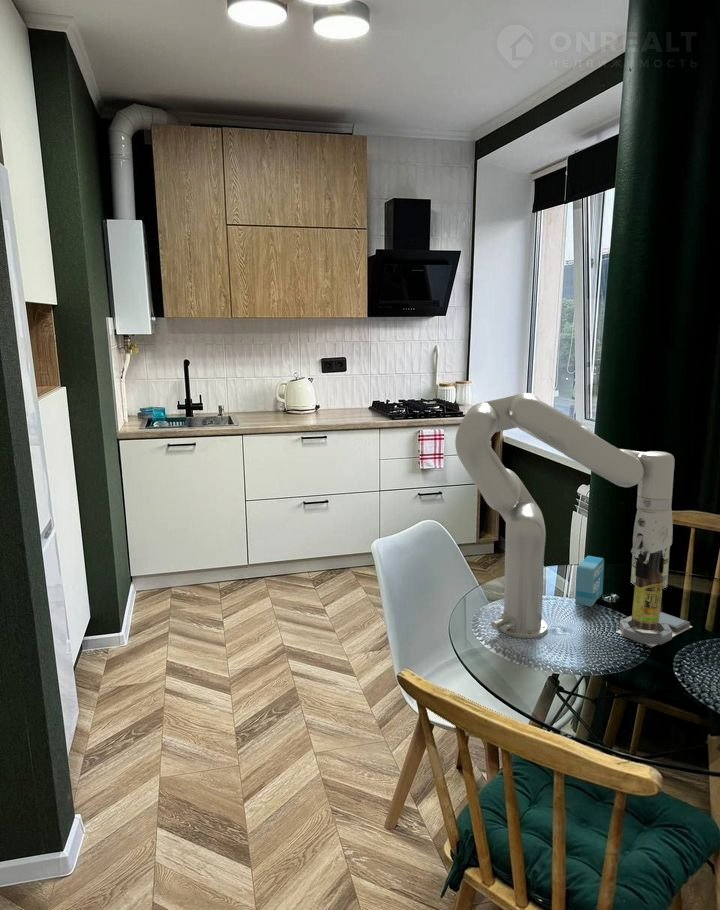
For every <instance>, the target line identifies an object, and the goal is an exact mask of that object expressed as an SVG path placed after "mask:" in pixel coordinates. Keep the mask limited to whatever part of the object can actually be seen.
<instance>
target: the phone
mask: <svg viewBox="0 0 720 910" xmlns="http://www.w3.org/2000/svg"><path fill="white" fill-rule="evenodd" d="M659 620H660V621H662V622H665V623H667V624H668V625H669V627H670V628H671V630H672V631H673V632H676V633H678V632H680V631H682V630H684V629H686V628H688V627H689V626H691V621H688V620H685V619H684V618H683V619H682V618H681V617H677V616H674V615H672V614H668V613H665V612H662V611H660V617H659Z"/></svg>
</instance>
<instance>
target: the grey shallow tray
mask: <svg viewBox="0 0 720 910" xmlns="http://www.w3.org/2000/svg"><path fill="white" fill-rule="evenodd" d="M691 628H693V626H692V625H690V626H689V627H688V628H686V629H684V630H682V631H680V632H678V633H676V632H673V631H672V630H671V628H670V627H669V625H668V624H667V623H665V622H662V621H660V620H659V622H658V628H657V629H655V630H643V629H639V628H637V627H635V626H634V625H633V624H632V615H630V616H629V615H628V616H627V617H625V618H623V619H621V620H619V629H618V630H616V631H615V633H618V634H620V635H622V636H623V637H624V638H628V639H629V640H632V641H635V642H637V643H639V644H645V645H647V646H649V647H652V648H654V647H655V646H658V645H663V644H665V643H668V642H669V641H671V640H672V639H673V638H674V637H675V636H677V635H679V634H682V633H683V632H685V631H687V630H690V629H691Z"/></svg>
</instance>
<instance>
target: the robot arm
mask: <svg viewBox="0 0 720 910" xmlns="http://www.w3.org/2000/svg"><path fill="white" fill-rule="evenodd" d="M516 428H518V430H521V431H523V433H526V434H528V435H530V436H531V437H533V438H535V439H536V440H539V441H540V442H542V443H544V444H546V445H547V446H549V447H551V448H553V449H554V450H556V451H558V452H559V453H561V454H563V455H564V456H566V457H567V458H569V459H571V460H573V461H574V462H576V463H578V464H579V465H582V466H583V467H584V468H586V469H588V470H590V471H592V472H593V473H594V474H595V475H598V476H599V477H601V478H604V479H605V480H607V481H609V482H610V483H611V484H612V483H613V484H614V485H616V486H618V487H623V488H631V487H634V486H636V485H637V495H636V496H637V498H636V509H637V510H636V514H635V520H634V525H633V534H632V548H631V550H630V553H631V554H633V555H634V557H635V561H636V571H635V576H637V577H640V578H643V579H646V580H647V579H649V566H650V564H649V563H648V560H649V556H650V553H655V552H658V551H661V557H660V563H659V571H660V573H661V574H662V573H663V568H664V557H665V556H666V553H665V551H666V549H667V548H668V547H670V548H671V546H672V545H673V531H674V529H673V528H674V526H673V525H674V524H673V520H674V519H673V512H672V503H673V502H672V501H673V488H674V485H673V484H674V475H675V474H674V471H675V457H674V455H673V454H672V453H669V452H667V451H659V450H658V451H657V450H654V451H653V450H650V451H639V450H638V451H637V450H633V449H632V450H631V449H624V448H618V447H616V446H615V445H612V444H611V443H609V442H608V441H606V440H604V439H603V438H601V437H599V436H598V435H597V434H595V433H594V432H593V431H592V430H590V429H589V428H588V427H587V426H586V425H585V424H583V423H582V422H580V421H579V420H577V419H575V418H573V417H571V416H569V415H568V414H566V413H564V412H562V411H561V410H558V409H557V408H555V407H553V406H551V405H549V404H548V403H546V402H545V401H543V400H541V399H540V398H539V397H538V396H537V395H535V394H534V393H529V392H523V393H518V394H513V395H510V396H506V397H501V398H497V399H492V400H488V401H487V400H486V401H483V402H479V403H476V404H474V405H472V406H471V407H470V408H469V409H468V410H467V412H466V413H465V414H464V416H463V419H462V421H461V422H460V424H459V426H458V429H457V431H456V435H455V440H454V441H455V442H454V443H455V451H456V454H457V457H458V459H459V461H460V463H461V464H462V466H463V467H464V469H465V470H466V471H467V474H468V476H469V477H470V479H471V480H472V482H473V483H474V485H475V487H476V488H477V490H478V491H479V492H480V494H481V496H482V498H483V500H484V501H485V502H486V504H487V505H488V506H489V508H491V509H493V510H494V511H496V512H498V513H499V514H500V516H501V517H502V520H504V522H505V544H504V545H505V551H504V590H503V591H504V593H503V598H504V599H503V600H504V601H503V611H502V612H501V617H500V618H498V619H496V620H494V621H491V623H490V625H491V628H492V629H493V630H497V629H499V630H500V631H501V633H503V634H505V635H507V636H510V637H513V638H518V639H535V638H540V637H542V635H543V636H544V635H545V633H546V634H547V633H548V630H547V629H548V627H549V626H548V624H547V622H546V621H545V620H544V619H542V618H543V591H544V590H543V588H544V564H545V563H544V561H545V558H544V557H545V549H546V548H545V547H546V537H547V535H546V534H547V533H546V525H545V520H544V516H543V512H542V510H541V508H540V507H539V505H538V504H537V502H536V501H535V499H534V498H533V497H532V494H530V492H529V490H528V489H527V488H526V486H525V484H524V482H523V481H522V480H521V479H520V478H519V476H518V475H517V473H515V471H513V470H511V469H509V468H507V467H506V466H504V464H503V463H502V461H501V459H500V458H499V456H498V454H497V453H496V452H495V451H494V449H493V448H492V445H491V440H492V437H493V436H494V434H495V433H498V432H499V433H500V432H504V431H509V430H512V429H516ZM642 547H644V548H645V550H643V549H642ZM641 552H644V553H645V557H644V556H643V554H641Z"/></svg>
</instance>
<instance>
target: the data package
mask: <svg viewBox="0 0 720 910" xmlns="http://www.w3.org/2000/svg"><path fill="white" fill-rule="evenodd" d="M604 569H605V559H604V558H603V557H597V556H592V555H587V556H586V557H585V558H584V559H583V560H582V561H581V562H580V563H579V564H578V565H577V567H576V576H575V577H576V578H575V597H574V598H575V600H574V601H575V602H574V603H575V606H576V605H579V606H578V607H581V606H587V607H590V608H591V607H593V606H594V604H595V603H596V602H597V601H598V600H599V599H601V598H602V597H601V595H602V596H603V592H604V591H603V589H604V574H605V573H604V572H605V570H604ZM600 597H601V598H600Z"/></svg>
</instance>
